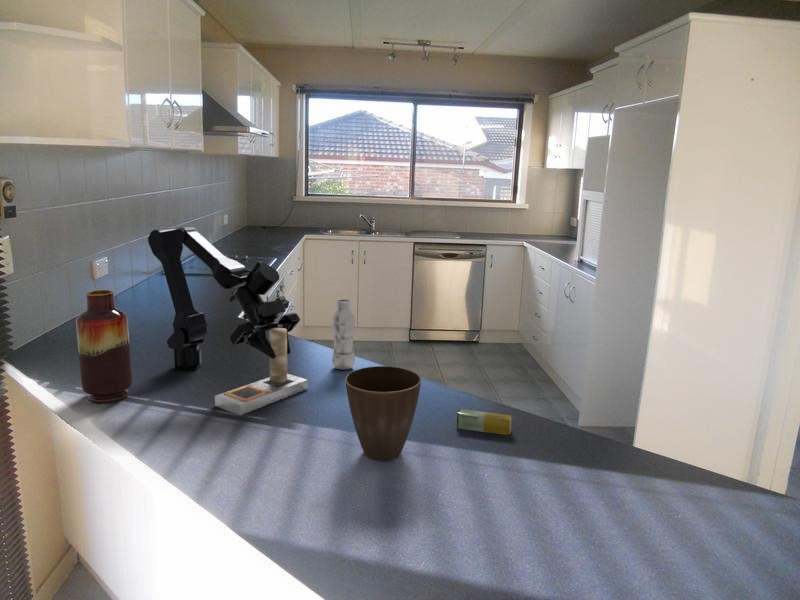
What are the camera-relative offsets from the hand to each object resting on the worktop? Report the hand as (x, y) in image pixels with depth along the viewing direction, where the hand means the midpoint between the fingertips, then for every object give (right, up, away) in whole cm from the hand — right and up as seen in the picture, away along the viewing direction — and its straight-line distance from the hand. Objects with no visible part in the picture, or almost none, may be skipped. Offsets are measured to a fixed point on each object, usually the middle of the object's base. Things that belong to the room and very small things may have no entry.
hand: (281, 355), depth 150 cm
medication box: (+48, -15, -17) cm, 53 cm away
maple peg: (-1, -6, +2) cm, 7 cm away
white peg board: (-4, -10, -1) cm, 11 cm away
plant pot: (+26, -17, -29) cm, 43 cm away
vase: (-42, -10, -3) cm, 43 cm away
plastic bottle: (+13, -6, +22) cm, 26 cm away
